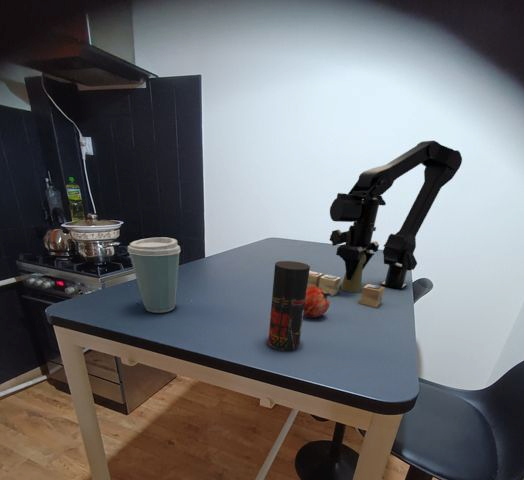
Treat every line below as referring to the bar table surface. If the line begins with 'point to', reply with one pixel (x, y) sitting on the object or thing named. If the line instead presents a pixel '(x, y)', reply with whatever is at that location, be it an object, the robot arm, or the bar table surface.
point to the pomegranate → (316, 302)
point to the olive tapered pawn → (354, 279)
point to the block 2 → (329, 284)
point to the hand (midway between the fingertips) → (352, 277)
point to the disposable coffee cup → (156, 271)
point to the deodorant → (288, 304)
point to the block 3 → (372, 295)
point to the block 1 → (314, 279)
